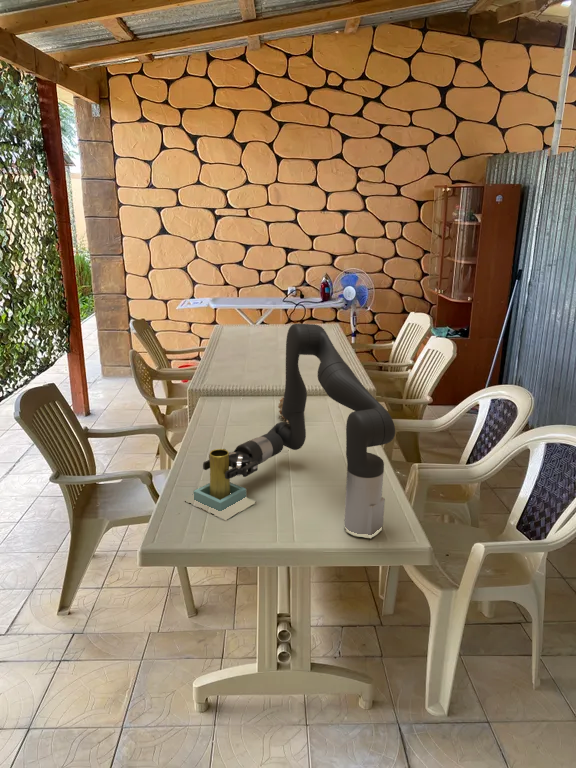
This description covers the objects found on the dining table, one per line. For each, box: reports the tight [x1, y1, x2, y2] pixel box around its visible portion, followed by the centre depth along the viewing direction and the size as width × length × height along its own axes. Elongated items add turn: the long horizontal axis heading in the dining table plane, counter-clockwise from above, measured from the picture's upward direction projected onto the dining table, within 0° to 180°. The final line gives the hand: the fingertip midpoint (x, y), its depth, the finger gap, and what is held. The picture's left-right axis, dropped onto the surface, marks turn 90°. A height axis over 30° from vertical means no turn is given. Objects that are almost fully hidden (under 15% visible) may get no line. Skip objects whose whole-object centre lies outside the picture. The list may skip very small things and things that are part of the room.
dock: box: [193, 482, 247, 511], centre depth 172 cm, size 16×12×4 cm
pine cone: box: [277, 396, 289, 423], centre depth 229 cm, size 22×10×10 cm, turn 3°
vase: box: [209, 448, 231, 500], centre depth 171 cm, size 6×6×14 cm
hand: (214, 471), depth 168 cm, fingers open, 8 cm apart
